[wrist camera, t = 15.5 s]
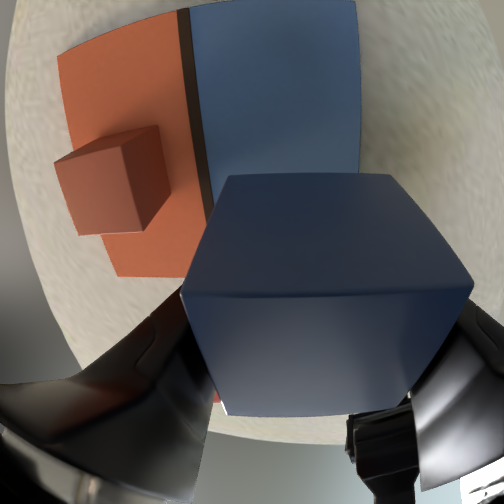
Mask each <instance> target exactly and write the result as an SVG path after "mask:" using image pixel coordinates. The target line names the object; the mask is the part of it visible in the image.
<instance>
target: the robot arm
mask: <svg viewBox="0 0 504 504" xmlns="http://www.w3.org/2000/svg"><path fill="white" fill-rule="evenodd" d="M182 285H183V284H182ZM182 285H181V286H180V287H179V288H178V289H177V290H176V291H175V292H174V293H172V294H171V295H170V296H169V297H168V298H167V299H166V300H165V301H164V302H163V303H162V304H161V305H160V306H158V307H157V308H156V309H155V310H154V311H153V312H152V313H151V314H150V317H149V316H148V317H147V318H145V319H144V320H143V321H142V322H141V323H140V324H139V325H138V326H137V327H136V328H135V329H133V330H132V331H131V332H130V333H129V334H128V335H127V336H125V337H124V338H123V339H122V340H121V341H119V342H118V343H117V344H116V345H114V346H113V347H112V348H111V349H109V350H108V351H107V352H105V353H104V354H103V355H102V356H100V357H99V358H98V359H97V360H95V361H94V362H93V363H91V364H90V365H89V366H88V367H86V368H85V369H84V370H82V371H81V372H79V373H78V374H76V375H74V376H71V377H68V378H65V379H58V380H50V381H41V382H30V383H19V384H0V423H1V424H3V425H4V426H5V427H6V428H5V431H4V434H3V435H2V434H1V433H0V504H166V501H167V500H171V501H176V502H181V503H186V504H192V500H193V495H194V491H195V485H196V481H197V477H198V472H199V467H200V462H201V458H202V453H203V448H204V443H205V438H206V433H207V429H208V425H209V420H210V415H211V411H212V406H213V401H214V397H215V392H216V389H215V387H214V384H213V382H212V380H211V377H210V375H209V372H208V370H207V367H206V365H205V362H204V360H203V357H202V355H201V352H200V350H199V347H198V344H197V342H196V339H195V336H194V334H193V331H192V328H191V325H190V323H189V320H188V317H187V314H186V311H185V309H184V306H183V303H182V300H181V297H180V290H181V288H182ZM410 396H411V398H408V394H406V396H405V397H404V398H403V399H402V401H401V402H400V403H399V404H398V405H397V407H395V408H391V409H384V410H378V411H371V412H363V413H358V414H351V415H349V419H348V420H346V423H347V437H346V445H345V453H346V454H348V455H349V457H350V459H351V462H352V464H356V473H357V475H358V476H359V477H360V479H361V480H362V481H363V482H364V483H365V485H366V486H367V487H368V488H369V489H370V490H371V492H372V493H373V494H374V504H415V491H414V483H415V481H416V479H417V477H418V475H419V473H420V484H421V491H422V492H423V491H426V490H430V489H433V488H436V487H438V486H441V485H444V484H447V483H449V482H452V481H455V480H457V479H460V487H461V497H462V501H463V504H504V327H503V326H502V325H501V324H500V323H498V322H497V321H496V320H494V319H493V318H492V317H491V316H490V315H488V314H487V313H486V312H485V311H484V310H482V309H481V308H480V307H479V306H476V304H475V303H474V302H473V301H471V300H470V299H469V298H468V300H467V302H466V304H465V306H464V307H463V309H462V311H461V313H460V315H459V317H458V318H457V320H456V322H455V324H454V325H453V327H452V329H451V331H450V332H449V334H448V336H447V337H446V339H445V340H444V342H443V344H442V345H441V347H440V348H439V350H438V351H437V353H436V354H435V356H434V357H433V359H432V360H431V362H430V363H429V365H428V366H427V368H426V369H425V370H424V372H423V373H422V375H421V376H420V377H419V379H418V380H417V381H416V383H415V384H414V385H413V387H412V388H411V389H410Z"/></svg>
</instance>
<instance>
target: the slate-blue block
mask: <svg viewBox="0 0 504 504" xmlns="http://www.w3.org/2000/svg"><path fill="white" fill-rule="evenodd" d="M473 288H474V281H473V279H472V277H471V276H470V274H469V273H468V271H467V270H466V268H465V267H464V265H463V264H462V262H461V261H460V259H459V258H458V257H457V255H456V254H455V252H454V251H453V250H452V248H451V247H450V245H449V244H448V243H447V241H446V240H445V239H444V237H443V236H442V235H441V233H440V232H439V231H438V229H437V228H436V227H435V226H434V224H433V223H432V222H431V221H430V219H429V218H428V217H427V216H426V214H425V213H424V212H423V211H422V210H421V208H420V207H419V206H418V205H417V204H416V203H415V201H414V200H413V199H412V198H411V197H410V196H409V195H408V193H407V192H406V191H405V190H404V189H403V188H402V187H401V186H400V185H399V183H398V182H397V181H396V180H395V179H394V178H393V177H392V176H391V175H389V174H368V173H264V174H242V175H229V176H228V177H227V179H226V181H225V183H224V186H223V188H222V190H221V192H220V195H219V197H218V199H217V202H216V204H215V206H214V208H213V211H212V213H211V215H210V218H209V220H208V223H207V225H206V227H205V230H204V232H203V235H202V237H201V239H200V242H199V244H198V247H197V249H196V252H195V254H194V257H193V259H192V262H191V264H190V267H189V269H188V272H187V275H186V277H185V280H184V282H183V285H182V288H181V290H180V297H181V300H182V303H183V306H184V309H185V311H186V314H187V317H188V320H189V323H190V325H191V328H192V331H193V334H194V336H195V339H196V342H197V344H198V347H199V350H200V352H201V355H202V357H203V360H204V362H205V365H206V367H207V370H208V372H209V375H210V377H211V380H212V382H213V384H214V387H215V389H216V391H217V394H218V396H219V398H220V401H221V403H222V405H223V407H224V410H225V412H226V414H227V415H231V416H248V417H316V416H332V415H344V414H354V413H363V412H371V411H378V410H384V409H391V408H395V407H397V405H398V404H399V403H400V402H401V401H402V399H403V398H404V397H405V396H406V394H407V393H408V392H409V391H410V389H411V388H412V387H413V385H414V384H415V383H416V381H417V380H418V379H419V377H420V376H421V375H422V373H423V372H424V370H425V369H426V368H427V366H428V365H429V363H430V362H431V360H432V359H433V357H434V356H435V354H436V353H437V351H438V350H439V348H440V347H441V345H442V344H443V342H444V340H445V339H446V337H447V336H448V334H449V332H450V331H451V329H452V327H453V325H454V324H455V322H456V320H457V318H458V317H459V315H460V313H461V311H462V309H463V307H464V306H465V304H466V302H467V300H468V298H469V296H470V294H471V292H472V290H473Z"/></svg>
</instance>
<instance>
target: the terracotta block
mask: <svg viewBox="0 0 504 504" xmlns="http://www.w3.org/2000/svg"><path fill="white" fill-rule="evenodd" d="M54 167H55V170H56V174H57V177H58V180H59V183H60V186H61V190H62V193H63V196H64V198H65V201H66V204H67V207H68V210H69V213H70V215H71V218H72V221H73V223H74V226H75V228H76V231H77V233H78V235H79V236H85V235H100V234H116V233H134V232H144V231H145V229H146V228H147V226H148V225H149V224H150V222H151V221H152V219H153V218H154V217H155V215H156V214H157V213H158V211H159V210H160V209H161V207H162V206H163V205H164V203H165V202H166V201H167V199H168V198H169V197H170V195H171V189H170V185H169V180H168V175H167V170H166V165H165V160H164V155H163V150H162V144H161V139H160V133H159V128H158V125H154V126H149V127H144V128H139V129H134V130H130V131H125V132H121V133H117V134H113V135H109V136H105V137H101V138H98V139H95V140H93V141H91V142H90V143H88V144H86V145H84V146H82V147H80V148H78V149H76V150H75V151H73V152H71V153H69V154H68V155H66V156H64V157H62V158H61V159H59V160H57V161H56V162H54Z"/></svg>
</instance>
